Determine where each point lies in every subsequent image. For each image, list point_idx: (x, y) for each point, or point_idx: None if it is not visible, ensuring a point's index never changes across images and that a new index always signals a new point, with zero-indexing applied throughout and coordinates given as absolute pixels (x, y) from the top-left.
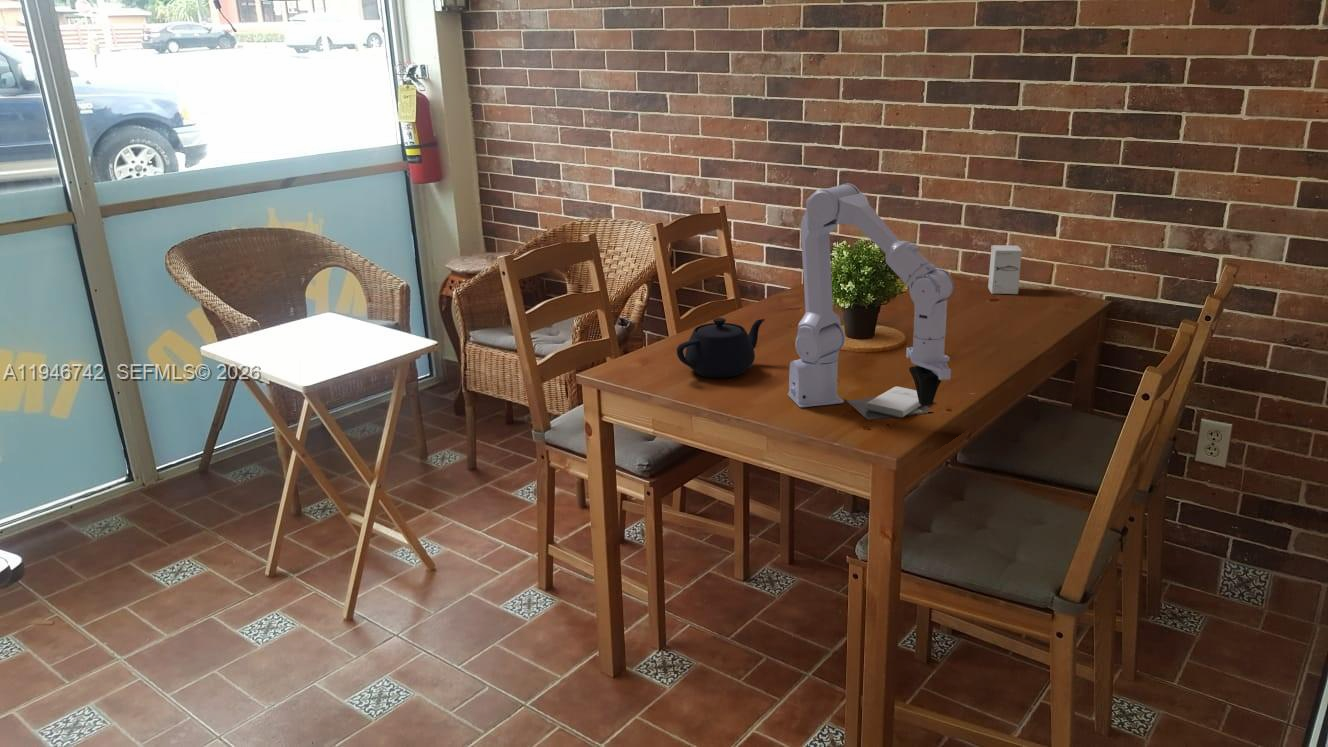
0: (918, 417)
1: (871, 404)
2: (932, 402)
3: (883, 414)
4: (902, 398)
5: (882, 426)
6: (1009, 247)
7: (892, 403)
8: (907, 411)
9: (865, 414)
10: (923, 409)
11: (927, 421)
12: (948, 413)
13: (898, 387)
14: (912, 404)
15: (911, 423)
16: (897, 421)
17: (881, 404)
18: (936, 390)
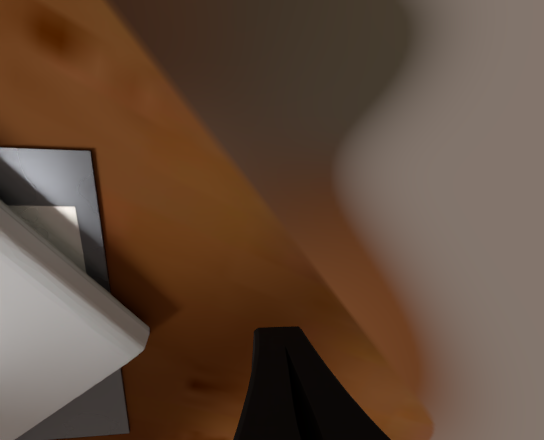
0: (145, 253)
1: (18, 436)
2: (304, 336)
3: None
4: None
5: (209, 404)
6: None
7: (21, 363)
8: (113, 310)
9: (71, 428)
10: (35, 186)
11: (207, 236)
12: (117, 71)
13: None
14: (43, 276)
15: (210, 306)
16: (172, 346)
17: (32, 408)
18: (357, 405)
